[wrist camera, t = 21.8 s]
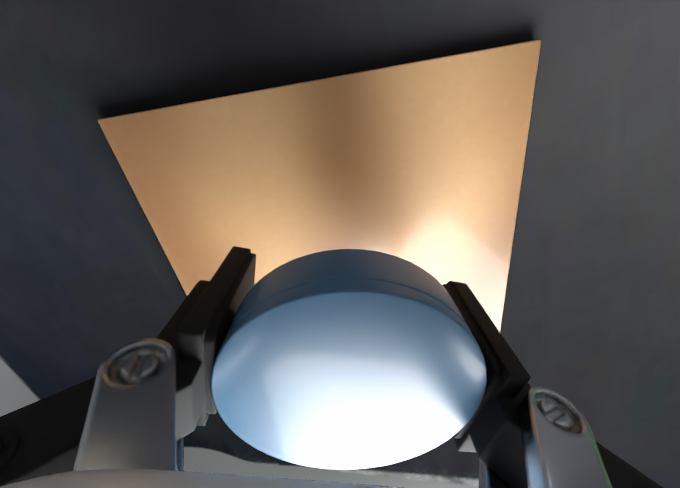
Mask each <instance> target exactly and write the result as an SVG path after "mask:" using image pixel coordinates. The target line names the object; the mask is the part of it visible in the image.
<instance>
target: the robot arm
mask: <svg viewBox="0 0 680 488" xmlns="http://www.w3.org/2000/svg"><path fill="white" fill-rule="evenodd" d="M255 266H256V254H253V253H251V249H248V248H242V247H236V246H233V247H232V249H231V250H230V252H229V253H228V255H227V256H226V258H225V259H224V261H223V262H222V264H221V265H220V267H219V268H218V270H217V271H216V273H215V274H214V276H213V277H212V279H211V280H210V281H206V280H200V281H198V282H197V284H196V285H195V286H194V288H193V289H192V290H191V292H190V293H189V295H188V296H187V297H186V299H185V300H184V301H183V303H182V304H181V305H180V307H179V308H178V310H177V311H176V312H175V314H174V315H173V316H172V318H171V319H170V321H169V322H168V323H167V325H166V326H165V327H164V329H163V330H162V332H161V333H160V334H159V336H158V337H157V338H156V339H155V338H147V339H140V340H136V341H132V342H129V343H127V344H125V345H123V346H120V347H119V348H117V349H116V350H114V351H113V352H112V353H110V354H109V355H108V356H107V357H106V358H105V359H104V361H103V362H102V363H101V365H100V368H99V370H98V373H97V377H94V378H92V379H89V380H87V381H85V382H82V383H80V384H78V385H75V386H73V387H70V388H68V389H66V390H63V391H61V392H58V393H56V394H54V395H51V396H49V397H47V398H44V399H42V400H39V401H37V402H35V403H32V404H30V405H27V406H25V407H23V408H20V409H18V410H16V411H13V412H11V413H8V414H6V415H4V416H1V417H0V488H400V487H389V486H377V485H365V484H352V483H340V482H325V481H314V480H301V479H288V478H274V477H261V476H247V475H234V474H221V473H220V474H219V473H204V472H186V471H184V450H183V449H184V445H183V437H184V436H186V435H188V434H189V433H191V432H192V431H194V429H195V427H196V425H199V426H205V424H206V421H207V419H208V416H209V414H210V413H211V414H216V412H217V408H216V406H215V404H214V400H213V396H212V391H211V375H212V368H213V365H214V362H215V359H216V356H217V354H218V352H219V350H220V347H221V345H222V343H223V341H224V338H225V336H226V334H227V332H228V329H229V327H230V325H231V323H232V321H233V318H234V316H235V314H236V312H237V309H238V307H239V305H240V304H241V302H242V300H243V299H244V297H245V295H246V294H247V293H248V292H249V291H250V289H251V288H252V287H253V286H254V280H255ZM443 287H444V288H445V289H446V290H447V292H448V293H449V295H450V296H451V298H452V299H453V301H454V303H455V304H456V306H457V308H458V310H459V311H460V313H461V315H462V317H463V318H464V320H465V322H466V324H467V325H468V327H469V329H470V331H471V333H472V334H473V336H474V338H475V339H476V341H477V343H478V345H479V347H480V349H481V351H482V354H483V356H484V359H485V364H486V369H487V384H486V388H485V393H484V396H483V399H482V401H481V404H480V406H479V407H478V409H477V411H476V412H475V414H474V415H473V417H472V418H471V419H470V420H469V422H468V423H467V424H466V425H465V426H464V427H463V428H462V429H461V430H460V431H459V432H457V433H456V434H455V435H454V436H452V437H451V438H454V440H455V443H456V446H457V449H458V451H467V452H475V451H476V453H477V455H478V458H479V488H663V487H661V486H660V485H658V484H657V483H655V482H654V481H652V480H651V479H650V478H648V477H647V476H645V475H644V474H642V473H641V472H639V471H638V470H637V469H635V468H634V467H632V466H631V465H629V464H628V463H626V462H625V461H624V460H622V459H621V458H619V457H618V456H616V455H615V454H613V453H612V452H610V451H609V450H608V449H606V448H605V447H603V446H602V445H600V444H599V443H597V442H596V441H595V439H594V436H593V434H592V431H591V428H590V426H589V424H588V422H587V420H586V418H585V417H584V415H583V414H582V413H581V411H580V410H579V409H578V408H577V407H576V406H575V405H574V404H573V403H572V402H571V401H569V400H568V399H566V398H565V397H564V396H562V395H561V394H559V393H557V392H555V391H553V390H551V389H548V388H545V387H539V386H536V387H533V388H531V387H530V385H529V384H528V381H529V379H530V378H531V377H530V376H529V374H528V373H527V371H526V370H525V368H524V367H523V365H522V364H521V363H520V361H519V360H518V358H517V357H516V355H515V354H514V352H513V351H512V349H511V348H510V346H509V345H508V344H507V342H506V341H505V339H504V338H503V336H502V335H501V333H500V332H499V330H498V329H497V327H496V326H495V325H494V323H493V322H492V320H491V319H490V317H489V316H488V314H487V313H486V311H485V310H484V308H483V307H482V306H481V304H480V303H479V301H478V300H477V298H476V297H475V295H474V294H473V292H472V291H471V289H470V288H469V287H468V285H467V284H466V283H461V282H455V281H449V282H448V283H447V284H443Z"/></svg>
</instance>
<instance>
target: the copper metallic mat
mask: <svg viewBox="0 0 680 488" xmlns="http://www.w3.org/2000/svg"><path fill="white" fill-rule="evenodd" d="M540 46H541V39H538V40H533V41H527V42H522V43H516V44H511V45H505V46H500V47H494V48H489V49H483V50H478V51H472V52H467V53H461V54H455V55H450V56H444V57H439V58H433V59H428V60H422V61H417V62H411V63H406V64H400V65H395V66H389V67H384V68H378V69H373V70H367V71H362V72H356V73H351V74H345V75H340V76H334V77H329V78H323V79H318V80H312V81H307V82H301V83H296V84H290V85H285V86H279V87H274V88H268V89H263V90H257V91H252V92H246V93H241V94H235V95H229V96H224V97H218V98H213V99H207V100H202V101H196V102H191V103H185V104H180V105H174V106H169V107H163V108H158V109H152V110H147V111H141V112H136V113H130V114H125V115H119V116H114V117H108V118H103V119H98V120H97V121H98V123H99V125H100V127H101V129H102V131H103V133H104V135H105V137H106V138H107V140H108V142H109V144H110V146H111V148H112V150H113V152H114V154H115V156H116V158H117V160H118V162H119V164H120V166H121V168H122V170H123V172H124V174H125V176H126V178H127V180H128V181H129V183H130V185H131V187H132V189H133V191H134V193H135V195H136V197H137V199H138V201H139V203H140V205H141V207H142V209H143V211H144V213H145V215H146V217H147V219H148V221H149V222H150V224H151V226H152V228H153V230H154V232H155V234H156V236H157V238H158V240H159V242H160V244H161V246H162V248H163V250H164V252H165V254H166V256H167V258H168V260H169V262H170V264H171V265H172V267H173V269H174V271H175V273H176V275H177V277H178V279H179V281H180V283H181V285H182V287H183V289H184V291H185V293H186V295H187V296H188V295H189V293H190V292H191V290H192V289H193V288H194V286H195V285H196V284H197V282H198V281H200V280H206V281H210V280H211V279H212V277H213V276H214V274H215V273H216V271H217V270H218V268H219V267H220V265H221V264H222V262H223V261H224V259H225V258H226V256H227V255H228V253H229V252H230V250H231V249H232V247H233V246H236V247H242V248H248V249H251V253H253V254H256V266H255V280H254V285H255V284H256V283H257V282H258V281H259V280H260V279H262V278H263V277H264V276H265V275H267V274H268V273H270V272H271V271H273V270H274V269H276V268H277V267H279V266H281V265H283V264H285V263H287V262H289V261H291V260H293V259H296V258H299V257H302V256H305V255H308V254H312V253H317V252H321V251H326V250H336V249H364V250H371V251H379V252H382V253H386V254H390V255H394V256H397V257H399V258H402V259H404V260H407V261H409V262H412V263H413V264H415V265H417V266H419V267H420V268H422V269H424V270H425V271H427V272H428V273H429V274H431V275H432V276H433V277H434V278H436V279H437V280H438V281H439V282H440V283H441V284H442V285H443V284H447V283H448V282H449V281H455V282H461V283H466V284H467V285H468V287H469V288H470V289H471V291H472V292H473V294H474V295H475V297H476V298H477V300H478V301H479V303H480V304H481V306H482V307H483V308H484V310H485V311H486V313H487V314H488V316H489V317H490V319H491V320H492V322H493V323H494V325H495V326H496V327H497V329H498V330H499V332H500V328H501V321H502V314H503V307H504V300H505V293H506V286H507V279H508V272H509V265H510V258H511V251H512V244H513V237H514V230H515V222H516V215H517V208H518V201H519V194H520V187H521V180H522V173H523V166H524V159H525V152H526V145H527V138H528V131H529V124H530V117H531V110H532V103H533V96H534V89H535V82H536V74H537V67H538V60H539V53H540Z"/></svg>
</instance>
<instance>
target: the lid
mask: <svg viewBox="0 0 680 488" xmlns="http://www.w3.org/2000/svg"><path fill="white" fill-rule="evenodd" d="M486 384H487V369H486V364H485V359H484V356H483V354H482V351H481V349H480V347H479V345H478V343H477V341H476V339H475V338H474V336H473V334H472V333H471V331H470V329H469V327H468V325H467V324H466V322H465V320H464V318H463V317H462V315H461V313H460V311H459V310H458V308H457V306H456V304H455V303H454V301H453V299H452V298H451V296H450V295H449V293H448V292H447V290H446V289H445V288H444V287H443V285H442V284H441V283H440V282H439V281H438V280H437V279H436V278H434V277H433V276H432V275H431V274H429V273H428V272H427V271H425V270H424V269H422V268H420V267H419V266H417V265H415V264H413V263H412V262H409V261H407V260H404V259H402V258H399V257H397V256H394V255H390V254H386V253H382V252H379V251H371V250H364V249H336V250H326V251H321V252H317V253H312V254H308V255H305V256H302V257H299V258H296V259H293V260H291V261H289V262H287V263H285V264H283V265H281V266H279V267H277V268H276V269H274V270H273V271H271V272H270V273H268V274H267V275H265V276H264V277H263V278H262V279H260V280H259V281H258V282H257V283H256V284H255V285H254V286H253V287H252V288H251V289H250V291H249V292H248V293H247V294H246V295H245V297H244V299H243V300H242V302H241V304H240V305H239V307H238V309H237V312H236V314H235V316H234V318H233V321H232V323H231V325H230V327H229V329H228V332H227V334H226V336H225V338H224V341H223V343H222V345H221V347H220V350H219V352H218V354H217V356H216V359H215V362H214V365H213V368H212V375H211V391H212V396H213V400H214V404H215V406H216V408H217V410H218V412H219V414H220V416H221V417H222V419H223V420H224V422H225V423H226V424H227V426H228V427H229V428H230V429H231V430H232V431H233V432H234V433H235V434H236V435H238V436H239V437H240V438H241V439H242V440H244V441H245V442H246V443H248V444H250V445H251V446H253V447H254V448H256V449H258V450H260V451H262V452H264V453H266V454H268V455H270V456H273V457H276V458H278V459H281V460H284V461H287V462H291V463H294V464H299V465H303V466H308V467H315V468H322V469H365V468H373V467H380V466H385V465H389V464H394V463H398V462H401V461H404V460H408V459H411V458H413V457H416V456H419V455H421V454H423V453H425V452H428V451H430V450H432V449H434V448H436V447H437V446H439V445H441V444H442V443H444V442H446V441H447V440H448V439H450V438H451V437H452V436H454V435H455V434H456V433H457V432H459V431H460V430H461V429H462V428H463V427H464V426H465V425H466V424H467V423H468V422H469V420H470V419H471V418H472V417H473V415H474V414H475V412H476V411H477V409H478V407H479V406H480V404H481V401H482V399H483V396H484V393H485V388H486Z"/></svg>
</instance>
